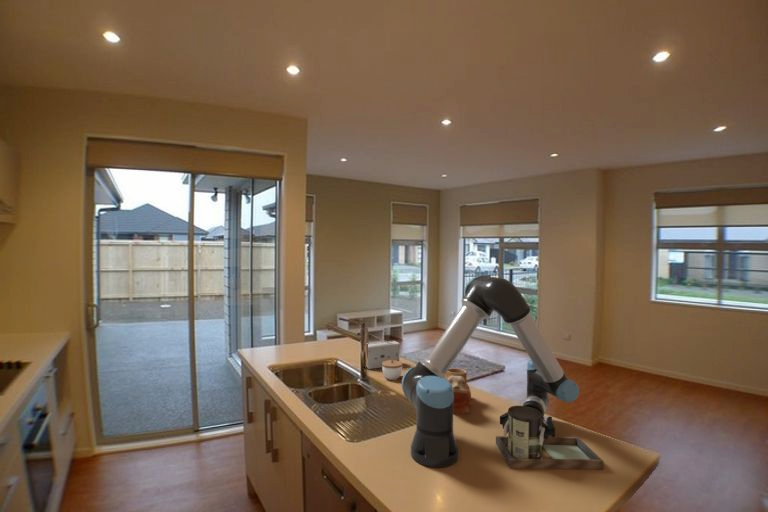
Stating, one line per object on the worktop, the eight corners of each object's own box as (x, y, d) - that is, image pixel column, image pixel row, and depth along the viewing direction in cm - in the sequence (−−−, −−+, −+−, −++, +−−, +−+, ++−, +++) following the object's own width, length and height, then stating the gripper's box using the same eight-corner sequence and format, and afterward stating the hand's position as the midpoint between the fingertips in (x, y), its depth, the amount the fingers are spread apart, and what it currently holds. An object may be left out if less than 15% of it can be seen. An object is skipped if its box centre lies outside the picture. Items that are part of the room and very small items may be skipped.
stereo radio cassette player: (394, 362, 221) (394, 328, 220) (400, 366, 213) (401, 331, 213) (361, 366, 212) (362, 331, 211) (367, 370, 204) (367, 334, 204)
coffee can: (538, 449, 123) (538, 406, 123) (545, 466, 113) (545, 420, 113) (505, 445, 125) (506, 403, 125) (509, 462, 115) (510, 417, 115)
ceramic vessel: (437, 417, 147) (437, 379, 147) (439, 392, 173) (439, 360, 173) (473, 420, 144) (473, 381, 144) (469, 395, 170) (469, 362, 170)
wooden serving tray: (510, 468, 112) (510, 460, 112) (495, 443, 127) (495, 436, 127) (603, 469, 112) (603, 461, 112) (577, 444, 127) (577, 437, 127)
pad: (559, 466, 113) (559, 465, 113) (541, 445, 126) (541, 444, 126) (597, 467, 113) (597, 466, 113) (576, 446, 126) (576, 445, 126)
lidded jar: (383, 374, 198) (383, 356, 198) (403, 375, 197) (403, 357, 197) (380, 380, 188) (380, 362, 188) (401, 382, 186) (401, 363, 186)
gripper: (567, 428, 129) (562, 458, 110) (501, 413, 141) (485, 438, 121) (568, 406, 129) (562, 433, 110) (501, 393, 141) (486, 415, 121)
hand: (522, 436), depth 116 cm, fingers closed on coffee can, 10 cm apart
